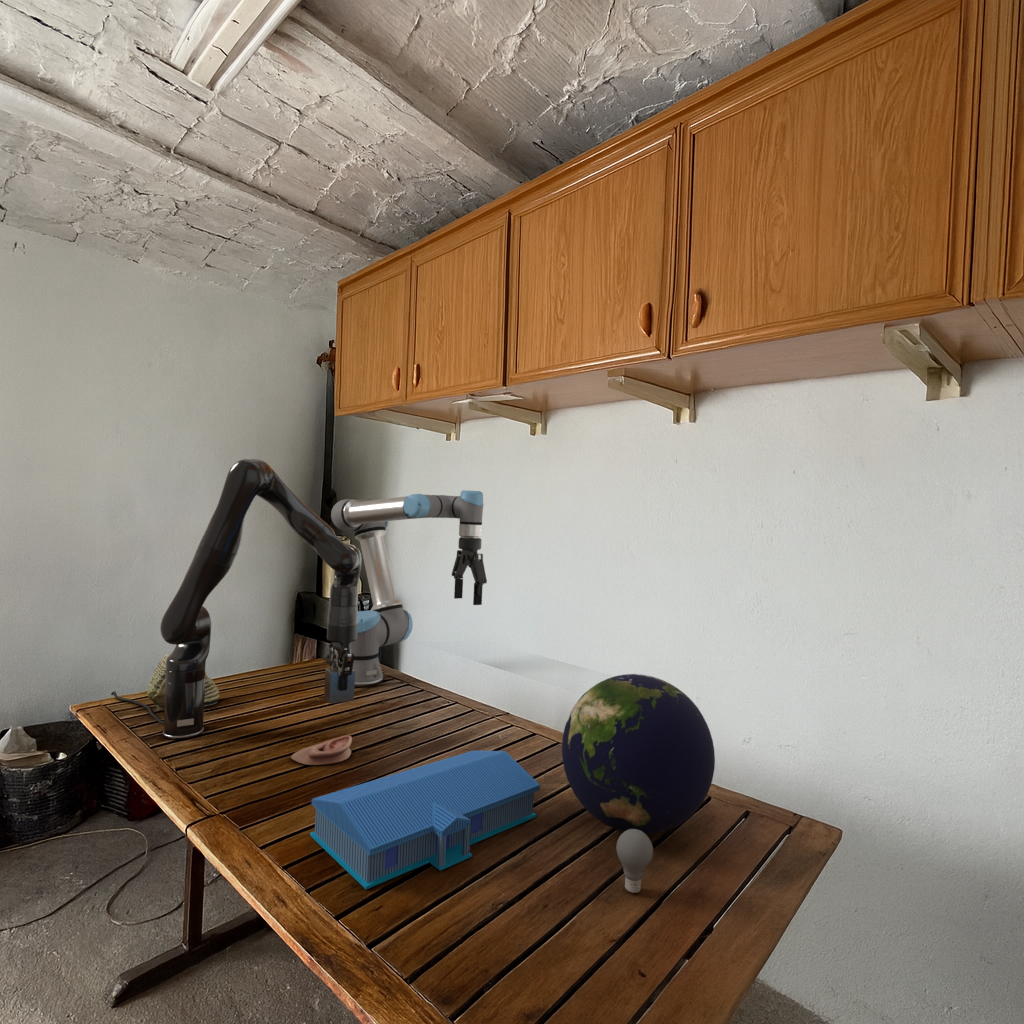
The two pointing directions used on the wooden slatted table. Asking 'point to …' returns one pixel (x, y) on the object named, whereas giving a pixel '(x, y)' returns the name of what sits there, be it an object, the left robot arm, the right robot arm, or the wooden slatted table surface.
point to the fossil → (158, 687)
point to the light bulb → (634, 857)
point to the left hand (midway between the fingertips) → (339, 687)
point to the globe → (638, 754)
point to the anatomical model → (325, 752)
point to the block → (332, 687)
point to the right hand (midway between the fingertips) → (467, 601)
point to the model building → (423, 815)
